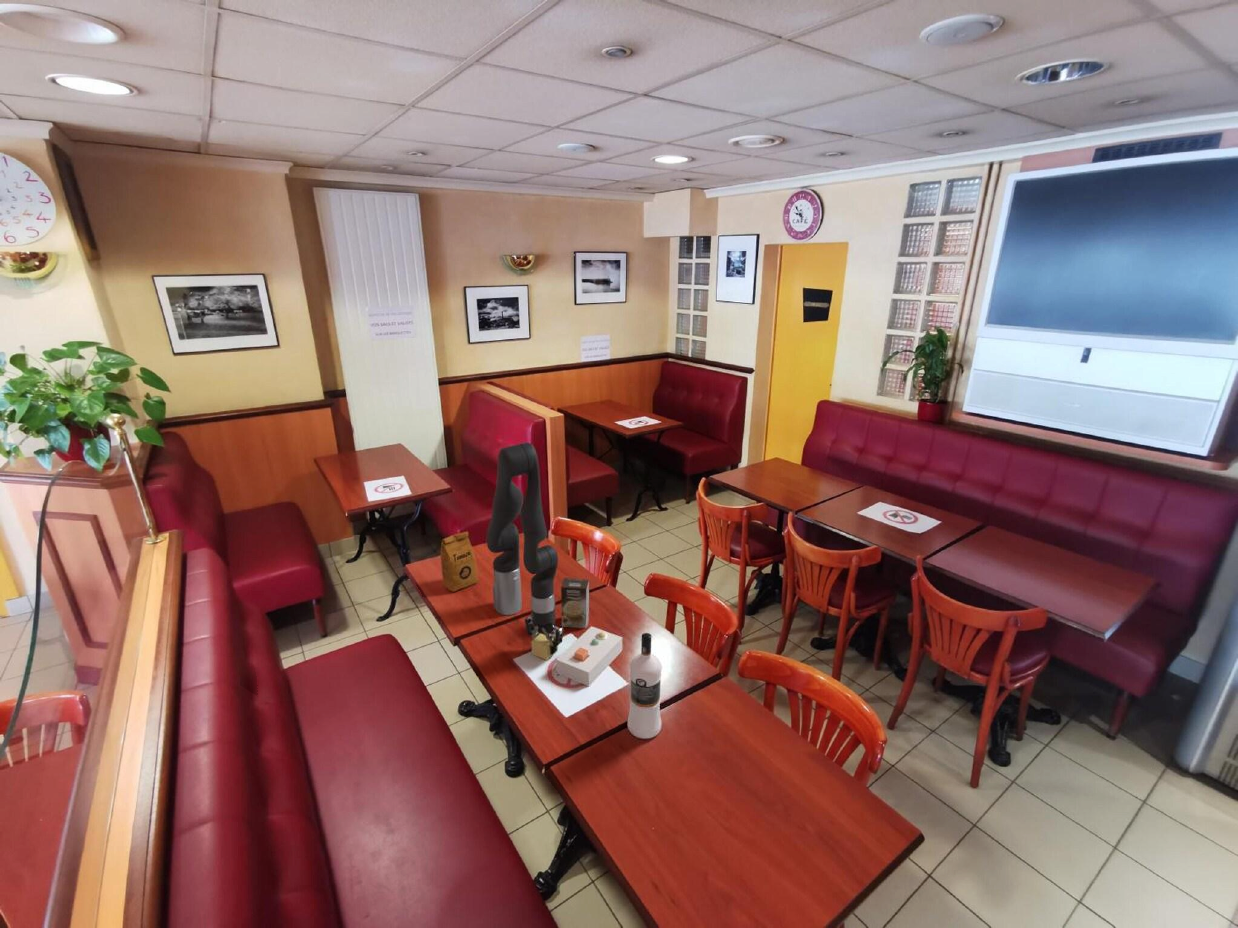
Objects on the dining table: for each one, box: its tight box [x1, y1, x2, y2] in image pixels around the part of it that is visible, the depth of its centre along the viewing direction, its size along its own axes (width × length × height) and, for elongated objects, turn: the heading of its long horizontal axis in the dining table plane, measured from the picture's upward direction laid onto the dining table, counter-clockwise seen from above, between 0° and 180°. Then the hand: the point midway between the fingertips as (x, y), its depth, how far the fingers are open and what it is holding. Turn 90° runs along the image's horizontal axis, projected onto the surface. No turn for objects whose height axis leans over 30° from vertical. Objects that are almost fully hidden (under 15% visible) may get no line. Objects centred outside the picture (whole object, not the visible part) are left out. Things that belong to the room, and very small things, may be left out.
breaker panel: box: [555, 626, 623, 687], centre depth 186 cm, size 12×20×6 cm, turn 150°
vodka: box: [627, 632, 663, 740], centre depth 155 cm, size 9×9×30 cm
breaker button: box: [575, 647, 588, 662], centre depth 181 cm, size 3×3×5 cm
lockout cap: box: [531, 633, 559, 661], centre depth 190 cm, size 6×6×5 cm
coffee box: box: [560, 577, 590, 629], centre depth 204 cm, size 9×6×16 cm
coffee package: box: [440, 531, 479, 593], centre depth 227 cm, size 10×12×22 cm
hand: (545, 649), depth 190 cm, fingers closed on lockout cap, 6 cm apart
